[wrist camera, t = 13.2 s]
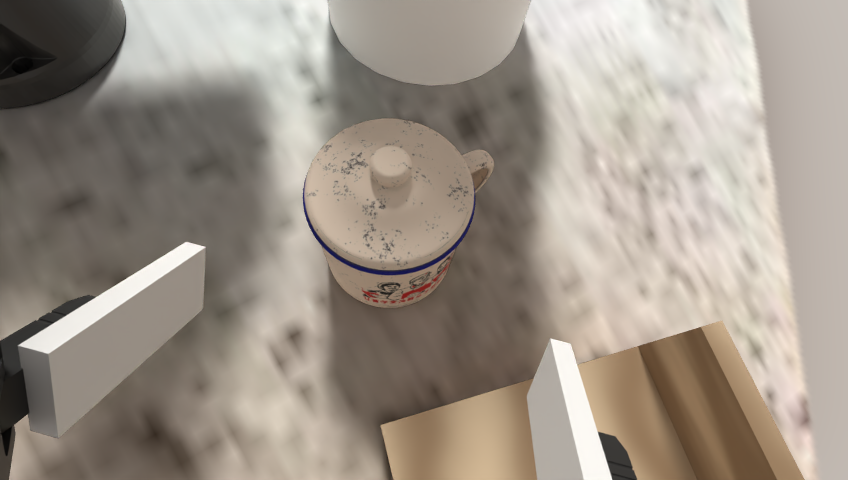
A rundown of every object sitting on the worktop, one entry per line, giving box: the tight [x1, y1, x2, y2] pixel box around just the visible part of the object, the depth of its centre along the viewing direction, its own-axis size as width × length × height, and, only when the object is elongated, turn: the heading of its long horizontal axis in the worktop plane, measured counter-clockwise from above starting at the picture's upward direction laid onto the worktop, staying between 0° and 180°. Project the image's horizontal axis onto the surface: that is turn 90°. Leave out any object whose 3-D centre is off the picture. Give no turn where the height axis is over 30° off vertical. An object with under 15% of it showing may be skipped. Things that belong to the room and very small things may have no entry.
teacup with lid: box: [303, 118, 494, 308], centre depth 27 cm, size 12×9×12 cm
